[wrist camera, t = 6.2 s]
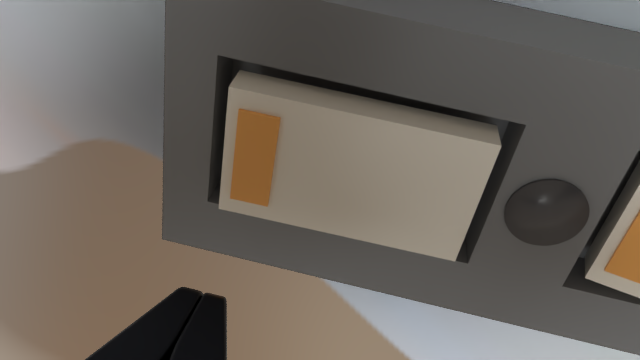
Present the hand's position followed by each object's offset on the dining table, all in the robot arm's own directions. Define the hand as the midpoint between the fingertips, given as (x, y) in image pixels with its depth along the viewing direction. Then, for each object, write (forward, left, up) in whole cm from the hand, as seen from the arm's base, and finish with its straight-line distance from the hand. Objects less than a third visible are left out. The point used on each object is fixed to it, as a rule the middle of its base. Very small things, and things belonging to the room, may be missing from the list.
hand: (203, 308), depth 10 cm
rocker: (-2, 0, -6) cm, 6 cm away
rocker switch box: (-7, 0, -9) cm, 11 cm away
